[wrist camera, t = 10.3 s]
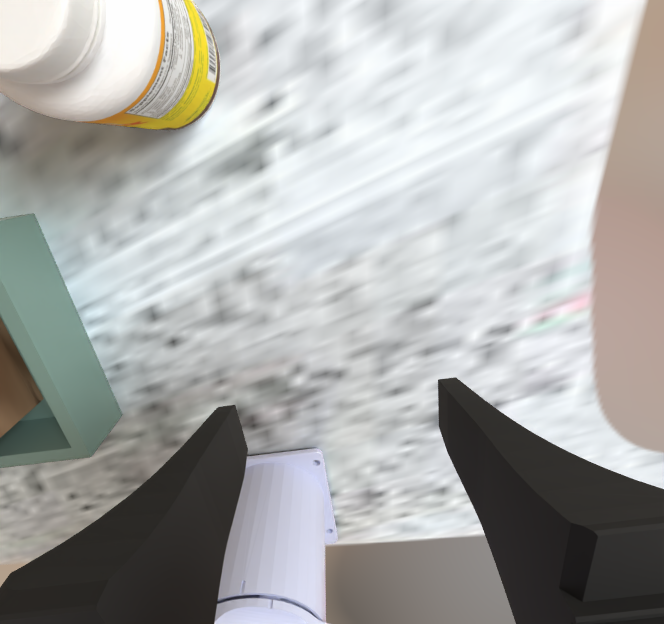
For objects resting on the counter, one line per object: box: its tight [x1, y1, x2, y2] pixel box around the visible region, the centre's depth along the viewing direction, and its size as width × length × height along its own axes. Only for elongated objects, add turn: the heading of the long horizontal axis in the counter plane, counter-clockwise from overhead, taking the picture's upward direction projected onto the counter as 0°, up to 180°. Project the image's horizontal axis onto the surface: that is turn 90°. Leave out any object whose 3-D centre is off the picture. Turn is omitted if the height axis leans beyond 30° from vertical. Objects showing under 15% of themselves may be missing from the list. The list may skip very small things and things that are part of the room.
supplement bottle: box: [0, 0, 221, 130], centre depth 12 cm, size 6×6×10 cm
